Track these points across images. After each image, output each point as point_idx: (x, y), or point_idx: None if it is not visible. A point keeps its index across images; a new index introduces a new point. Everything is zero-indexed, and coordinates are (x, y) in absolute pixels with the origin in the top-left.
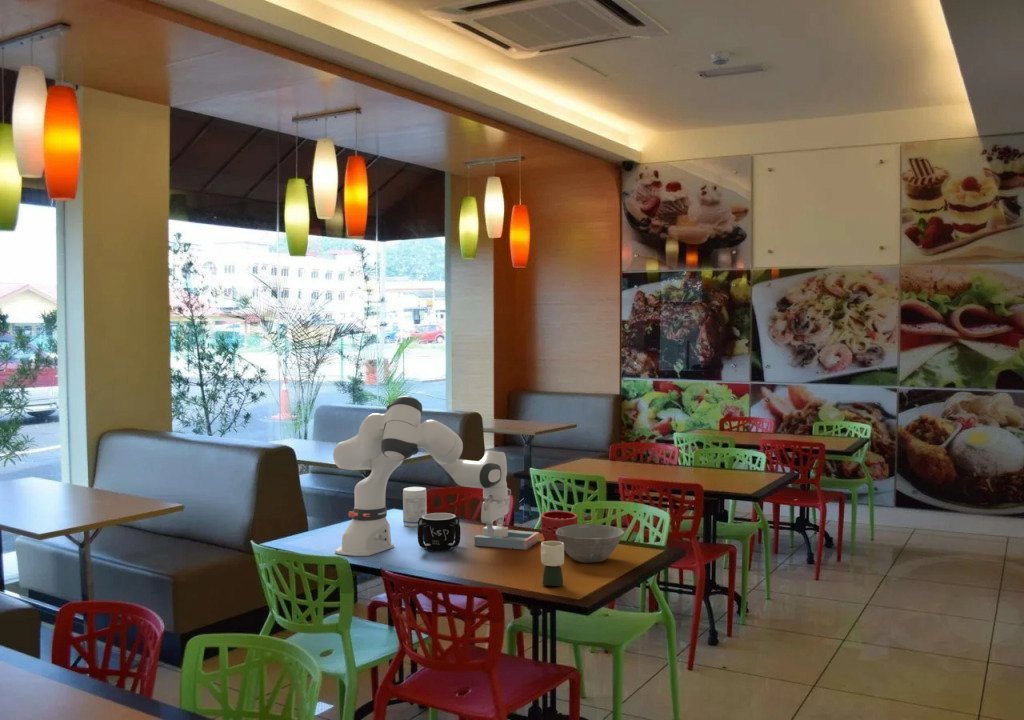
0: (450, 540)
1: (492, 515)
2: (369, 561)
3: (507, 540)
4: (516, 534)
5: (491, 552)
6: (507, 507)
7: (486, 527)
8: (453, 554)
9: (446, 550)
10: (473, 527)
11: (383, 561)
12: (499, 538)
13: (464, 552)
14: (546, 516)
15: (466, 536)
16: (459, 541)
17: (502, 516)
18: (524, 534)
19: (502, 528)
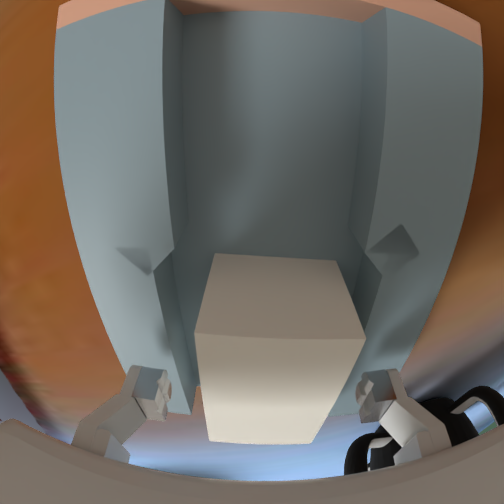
0: (462, 420)
1: (500, 487)
2: (477, 431)
3: (459, 207)
4: (172, 196)
5: (500, 252)
6: (4, 476)
7: (282, 437)
8: (486, 363)
9: (447, 398)
10: (69, 410)
11: (486, 420)
12: (437, 285)
13: (473, 350)
14: None
15: (193, 424)
16: (495, 393)
17: (106, 452)
18: (165, 97)
19: (295, 359)
